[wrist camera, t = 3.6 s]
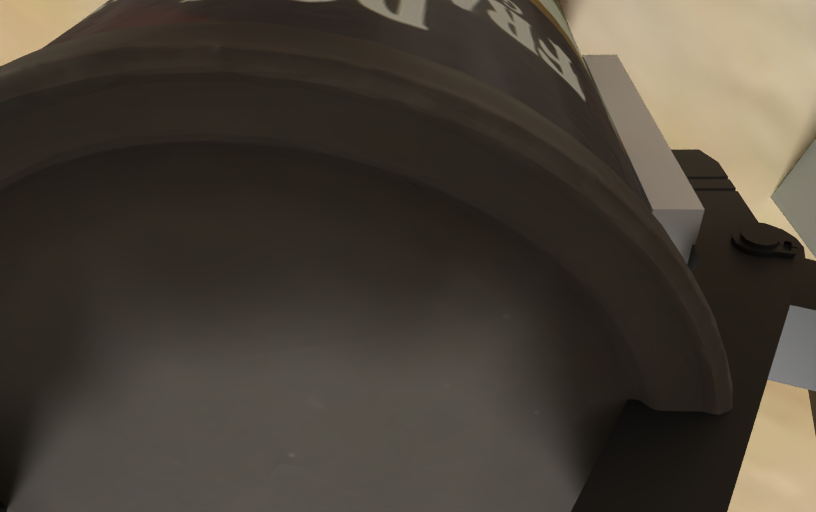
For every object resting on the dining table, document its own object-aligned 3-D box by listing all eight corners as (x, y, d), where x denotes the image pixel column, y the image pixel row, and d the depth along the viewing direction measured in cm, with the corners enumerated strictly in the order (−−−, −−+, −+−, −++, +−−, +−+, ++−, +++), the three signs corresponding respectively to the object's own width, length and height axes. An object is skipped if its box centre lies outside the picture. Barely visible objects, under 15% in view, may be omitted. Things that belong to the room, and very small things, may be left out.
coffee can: (175, -176, 16) (-446, -25, 5) (603, -128, 17) (946, 122, 5) (209, 194, 22) (-37, 643, 11) (522, 226, 23) (598, 701, 11)
